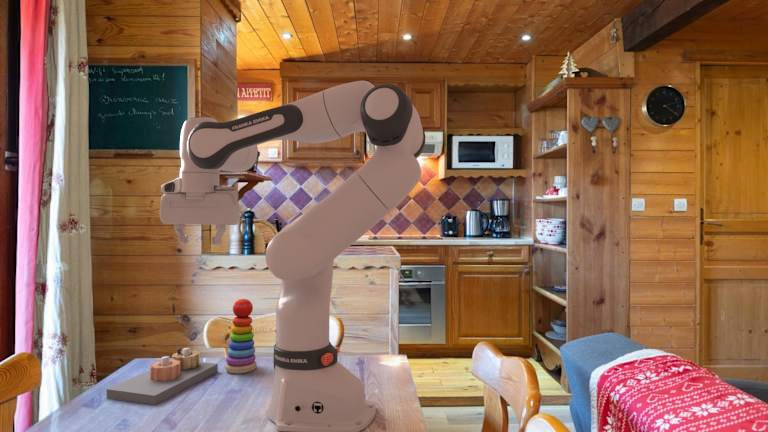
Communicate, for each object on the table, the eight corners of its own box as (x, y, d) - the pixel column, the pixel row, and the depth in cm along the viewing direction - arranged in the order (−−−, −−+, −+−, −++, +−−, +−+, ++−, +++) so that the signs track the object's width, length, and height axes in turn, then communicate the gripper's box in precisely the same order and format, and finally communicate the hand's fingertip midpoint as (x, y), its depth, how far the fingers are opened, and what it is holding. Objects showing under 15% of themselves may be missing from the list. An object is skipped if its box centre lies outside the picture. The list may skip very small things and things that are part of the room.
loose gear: (186, 372, 114) (186, 360, 114) (167, 382, 107) (167, 369, 107) (164, 370, 115) (164, 358, 115) (143, 379, 109) (143, 366, 109)
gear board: (217, 371, 121) (217, 346, 121) (154, 404, 99) (154, 374, 99) (175, 366, 124) (176, 342, 124) (106, 398, 103) (106, 369, 103)
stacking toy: (247, 375, 117) (247, 302, 117) (219, 373, 119) (219, 301, 119) (261, 365, 125) (262, 297, 125) (234, 363, 127) (235, 295, 127)
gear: (205, 362, 121) (205, 346, 121) (188, 370, 114) (188, 354, 114) (184, 360, 123) (184, 344, 123) (166, 368, 116) (166, 351, 116)
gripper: (245, 186, 110) (245, 244, 111) (174, 187, 116) (173, 242, 116) (229, 184, 104) (229, 245, 104) (155, 185, 110) (155, 243, 110)
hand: (199, 243), depth 110 cm, fingers open, 8 cm apart
